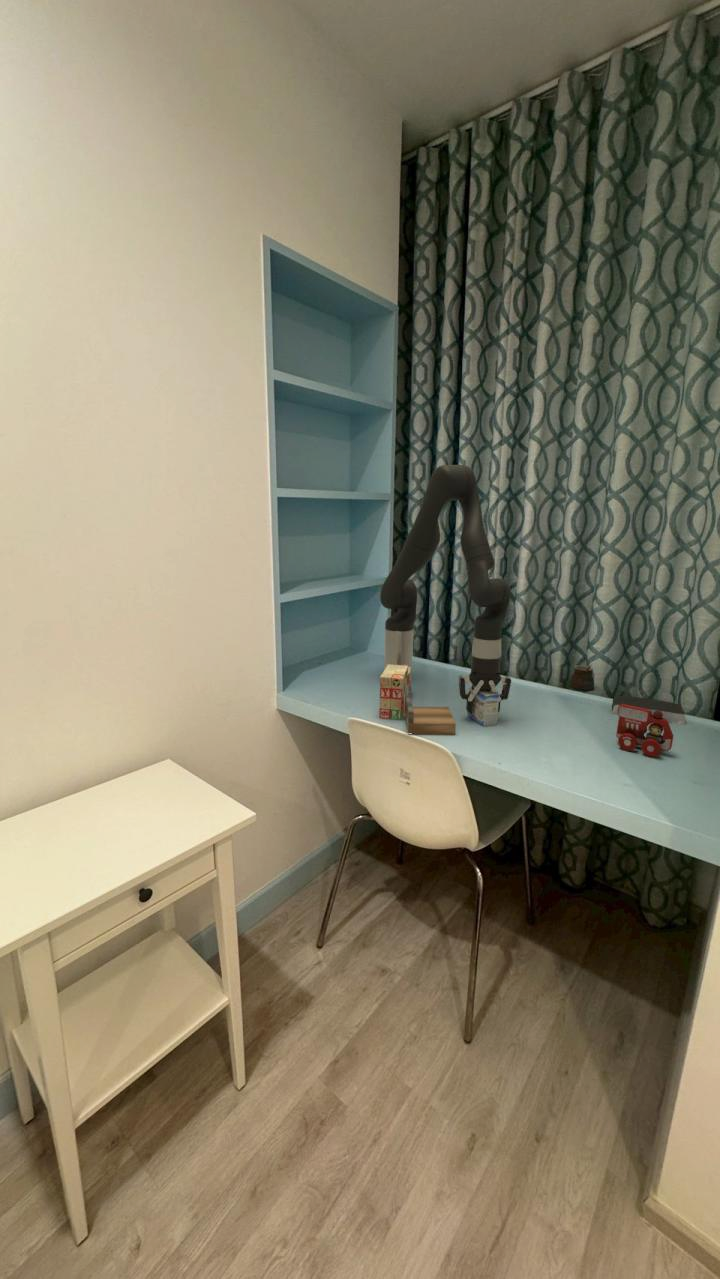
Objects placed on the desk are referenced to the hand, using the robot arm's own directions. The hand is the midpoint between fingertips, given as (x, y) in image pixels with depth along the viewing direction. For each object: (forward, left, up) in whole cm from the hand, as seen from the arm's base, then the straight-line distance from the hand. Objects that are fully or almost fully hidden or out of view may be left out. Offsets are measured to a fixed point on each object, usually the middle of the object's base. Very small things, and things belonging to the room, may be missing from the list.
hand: (482, 713), depth 146 cm
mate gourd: (-26, +37, -2) cm, 45 cm away
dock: (+4, -15, -2) cm, 16 cm away
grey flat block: (-6, +48, -3) cm, 48 cm away
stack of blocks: (-11, -23, -3) cm, 25 cm away
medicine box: (0, 0, -2) cm, 2 cm away
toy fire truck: (+17, +35, -3) cm, 39 cm away
